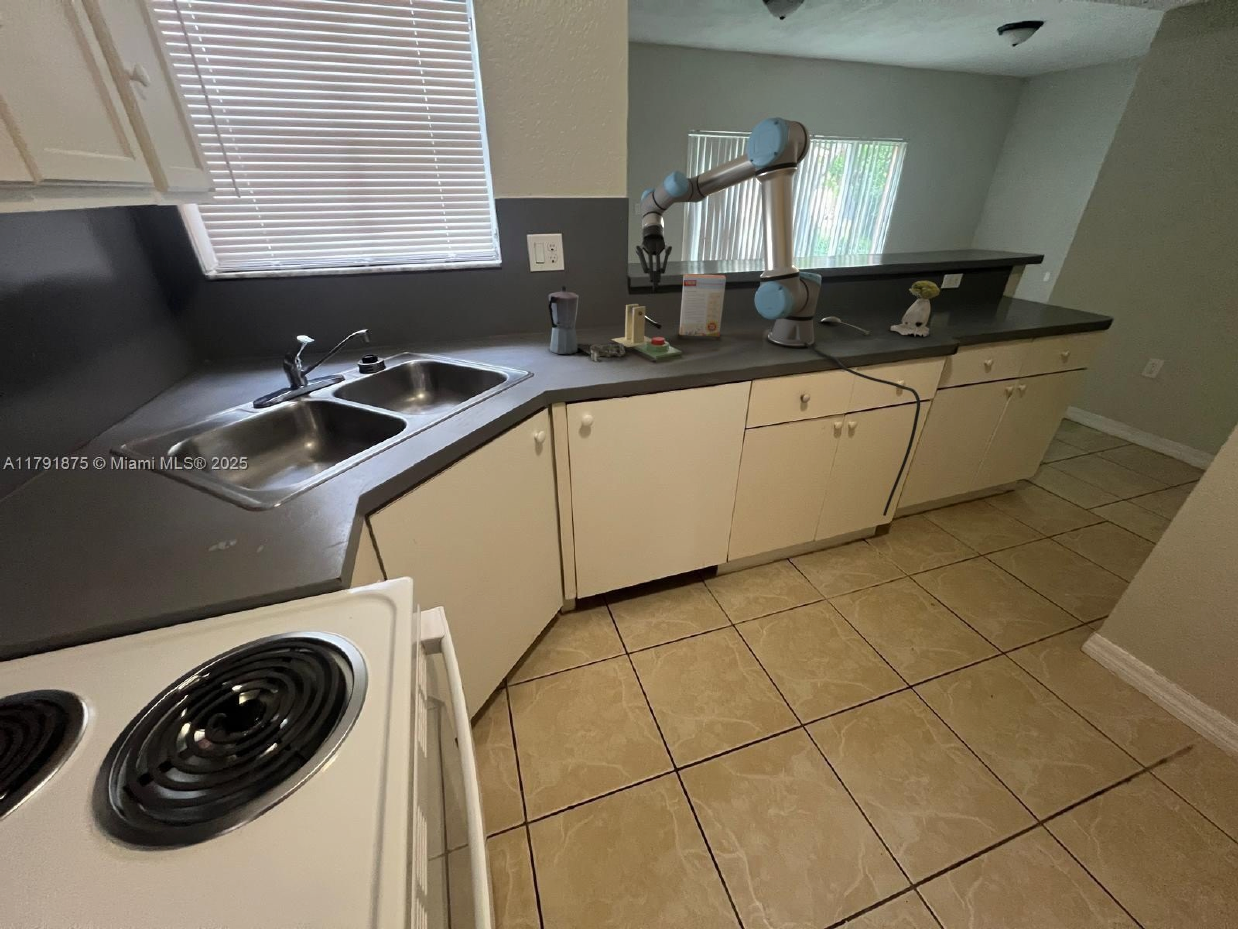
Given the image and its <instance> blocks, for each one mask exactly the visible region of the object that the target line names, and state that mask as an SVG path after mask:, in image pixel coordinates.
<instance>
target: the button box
mask: <svg viewBox="0 0 1238 929" xmlns="http://www.w3.org/2000/svg"><path fill="white" fill-rule="evenodd" d="M633 349H635V350H636V351H638V352H641V353H642V354H645V355H647V356H649V357H651V358H653V359H655V360H651V362H652V363H654V364H658V363H665V362H668V361H669V362H670V361H674V360H678V359H682V354H683V351H682V350H680V349H678V348H675V347H672V346H671V345H670V342H668V341H666V340H664V345H653V344H652V340H651V341H648V342H647V344H643V345H637V346H633Z"/></svg>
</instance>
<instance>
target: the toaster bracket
mask: <svg viewBox="0 0 1238 929" xmlns="http://www.w3.org/2000/svg"><path fill="white" fill-rule="evenodd" d="M632 306H635V307H634V308H633V315H632V314H631V313H629V311H630V310H631V308H632ZM645 316H646V306H645V305H644V306H643V305H642V306H639V303H632V304H626V305H625V322H624V323H625V325H624V326H625V327H624V328H625V329H624V336H623V337H615V338H612V339H611V340H612V341H614V342H616V343H617V344H620V343H622V344H623V346H624V347H627V348H630V347H631V348H632V347H634V346H637V345H643V344H647V342H648V341H651V340H652V338H650V337H647V336H645V329H646V328H645V327H646V320H645Z"/></svg>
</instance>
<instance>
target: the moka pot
mask: <svg viewBox="0 0 1238 929" xmlns="http://www.w3.org/2000/svg"><path fill="white" fill-rule="evenodd" d="M579 296H580V295H579V294H576V293H575V292H568V291H567V286H565V285H561V291H557V292H552V293H550V294H548V303H547V307H548V312H549V317H550V321H551V337H550V344H549V345H550V346H549V350H550V352H551V353H553V354H559V355H570V354H575V353H577V352H578V350H579V349H578V341H577V331H576V321H577V314H578V306H579V305H578V304H579Z"/></svg>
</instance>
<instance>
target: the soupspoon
mask: <svg viewBox="0 0 1238 929" xmlns="http://www.w3.org/2000/svg"><path fill="white" fill-rule="evenodd" d="M820 322H834V323H836V324H837V323H838V324H842V325H846V326H848V327H851V328H854V329H857V330H859V331H861V332H862V333H864V335H865V336H869V335H870V330H866V329H864V328H860V327H858V326H855V325H853V324H849V323H846V322H843V321H841V319H840V318H838V317H836V316H828V317H825V318H823V319H821V320H820Z"/></svg>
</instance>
